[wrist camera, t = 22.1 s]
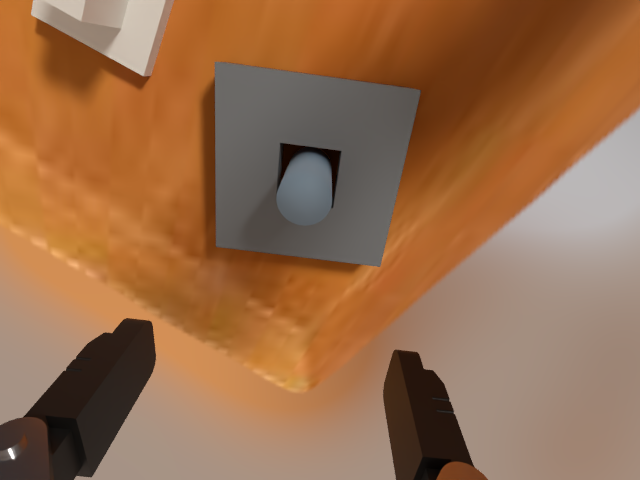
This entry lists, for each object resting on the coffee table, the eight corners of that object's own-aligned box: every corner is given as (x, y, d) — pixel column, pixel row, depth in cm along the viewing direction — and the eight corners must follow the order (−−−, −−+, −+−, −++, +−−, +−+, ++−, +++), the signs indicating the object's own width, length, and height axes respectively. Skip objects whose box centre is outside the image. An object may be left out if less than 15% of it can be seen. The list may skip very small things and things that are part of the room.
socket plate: (225, 62, 30) (214, 61, 27) (413, 88, 30) (421, 90, 27) (224, 233, 37) (215, 246, 34) (376, 252, 37) (380, 266, 34)
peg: (291, 143, 32) (278, 169, 24) (334, 149, 33) (335, 176, 25) (287, 185, 34) (274, 222, 26) (328, 190, 34) (328, 228, 26)
